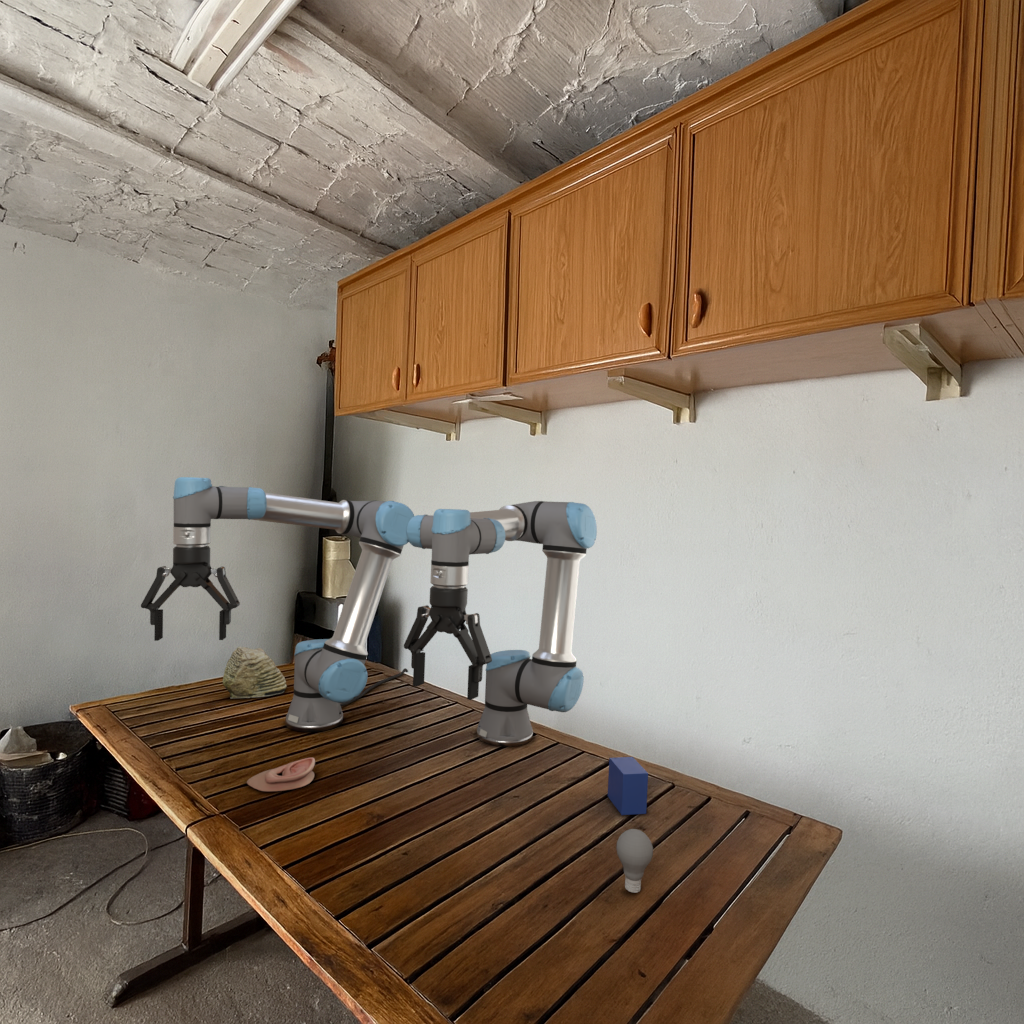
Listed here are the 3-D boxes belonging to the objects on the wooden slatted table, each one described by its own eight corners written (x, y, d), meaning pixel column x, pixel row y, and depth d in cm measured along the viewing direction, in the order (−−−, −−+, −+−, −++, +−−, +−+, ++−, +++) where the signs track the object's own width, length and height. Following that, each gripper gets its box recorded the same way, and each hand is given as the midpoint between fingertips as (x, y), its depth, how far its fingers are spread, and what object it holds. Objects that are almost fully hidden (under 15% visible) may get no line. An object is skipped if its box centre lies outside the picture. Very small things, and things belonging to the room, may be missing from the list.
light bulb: (610, 879, 108) (613, 822, 108) (644, 879, 109) (647, 822, 109) (619, 902, 102) (622, 840, 102) (655, 901, 103) (658, 840, 103)
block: (607, 796, 140) (609, 757, 140) (630, 794, 141) (632, 756, 141) (621, 815, 132) (623, 774, 131) (646, 813, 133) (648, 773, 132)
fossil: (218, 695, 195) (220, 647, 195) (278, 685, 208) (279, 640, 207) (228, 703, 189) (230, 653, 188) (289, 692, 201) (290, 645, 201)
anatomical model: (238, 769, 136) (269, 749, 147) (238, 787, 136) (269, 766, 147) (295, 777, 133) (322, 756, 144) (294, 796, 133) (321, 773, 144)
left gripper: (124, 546, 137) (123, 643, 138) (245, 547, 141) (244, 642, 142) (139, 543, 145) (138, 635, 145) (254, 544, 149) (252, 634, 149)
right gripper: (389, 581, 130) (385, 683, 130) (491, 595, 117) (486, 709, 118) (412, 578, 136) (409, 675, 137) (512, 590, 123) (507, 698, 124)
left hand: (190, 639), depth 143 cm, fingers open, 13 cm apart
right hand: (444, 691), depth 127 cm, fingers open, 13 cm apart
